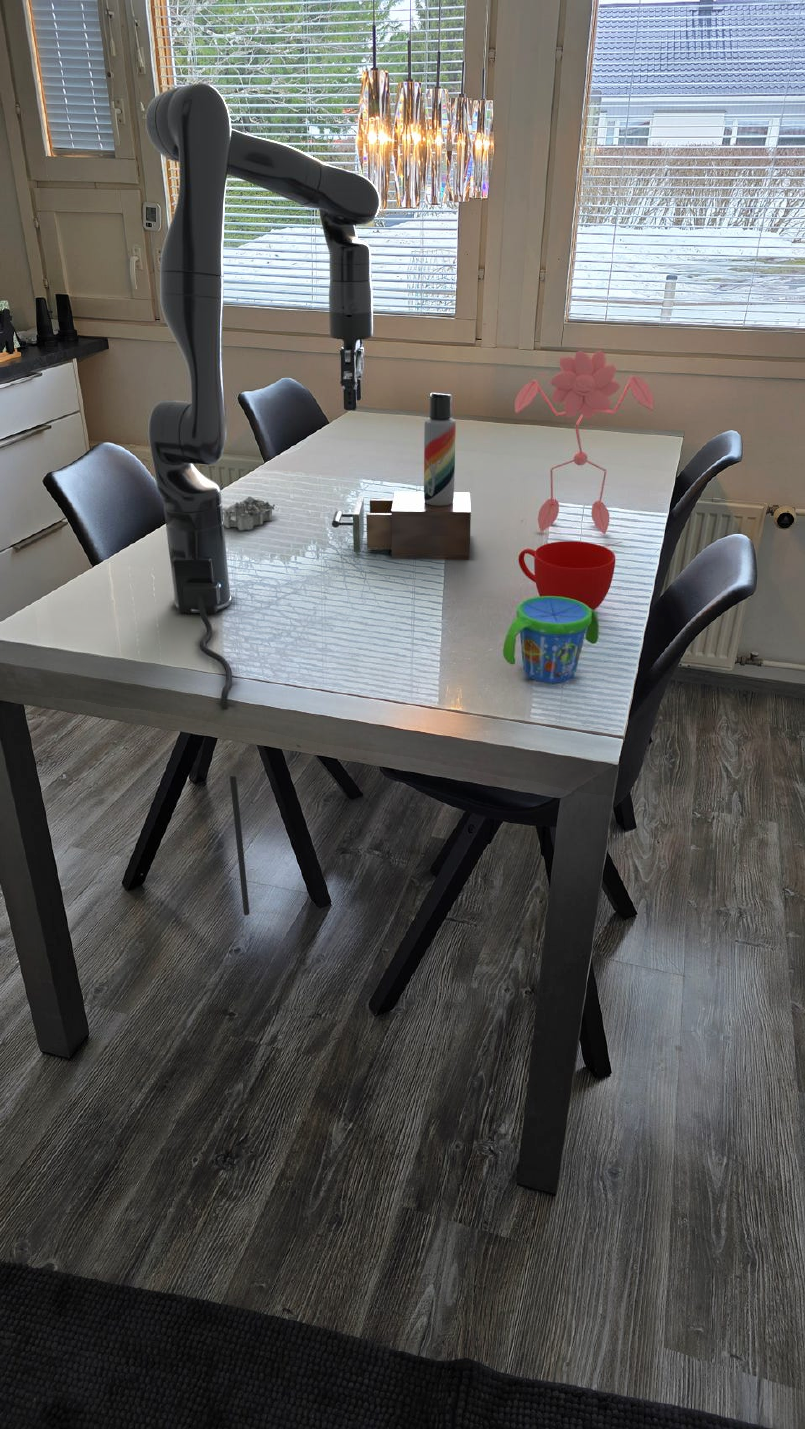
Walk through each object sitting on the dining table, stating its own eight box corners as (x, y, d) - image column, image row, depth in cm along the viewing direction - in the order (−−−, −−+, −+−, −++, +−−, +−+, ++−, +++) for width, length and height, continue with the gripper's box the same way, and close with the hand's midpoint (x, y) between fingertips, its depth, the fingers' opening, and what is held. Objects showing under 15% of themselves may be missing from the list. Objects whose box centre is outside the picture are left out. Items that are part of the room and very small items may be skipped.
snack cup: (575, 650, 153) (581, 587, 148) (614, 678, 145) (622, 614, 140) (484, 668, 148) (487, 604, 143) (520, 699, 139) (524, 632, 134)
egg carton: (245, 532, 201) (244, 513, 199) (217, 526, 205) (215, 506, 203) (279, 518, 209) (277, 499, 207) (251, 512, 212) (249, 493, 210)
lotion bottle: (418, 503, 187) (419, 393, 178) (432, 495, 192) (433, 388, 182) (445, 508, 185) (448, 397, 175) (458, 499, 190) (461, 391, 180)
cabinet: (391, 558, 188) (391, 511, 184) (394, 536, 199) (394, 491, 194) (469, 559, 188) (470, 512, 183) (468, 537, 198) (469, 492, 194)
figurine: (510, 520, 207) (519, 342, 190) (637, 527, 203) (658, 346, 186) (503, 545, 194) (512, 356, 177) (639, 553, 190) (661, 361, 173)
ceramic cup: (537, 585, 176) (541, 530, 171) (624, 609, 167) (630, 552, 162) (495, 608, 167) (498, 551, 162) (584, 634, 158) (589, 575, 153)
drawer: (331, 551, 189) (329, 514, 185) (337, 532, 198) (335, 496, 195) (425, 552, 188) (425, 515, 184) (426, 533, 197) (426, 497, 194)
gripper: (334, 303, 179) (336, 396, 187) (324, 313, 166) (327, 413, 174) (376, 304, 178) (376, 397, 186) (369, 314, 166) (370, 413, 174)
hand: (352, 405), depth 180 cm, fingers open, 8 cm apart
